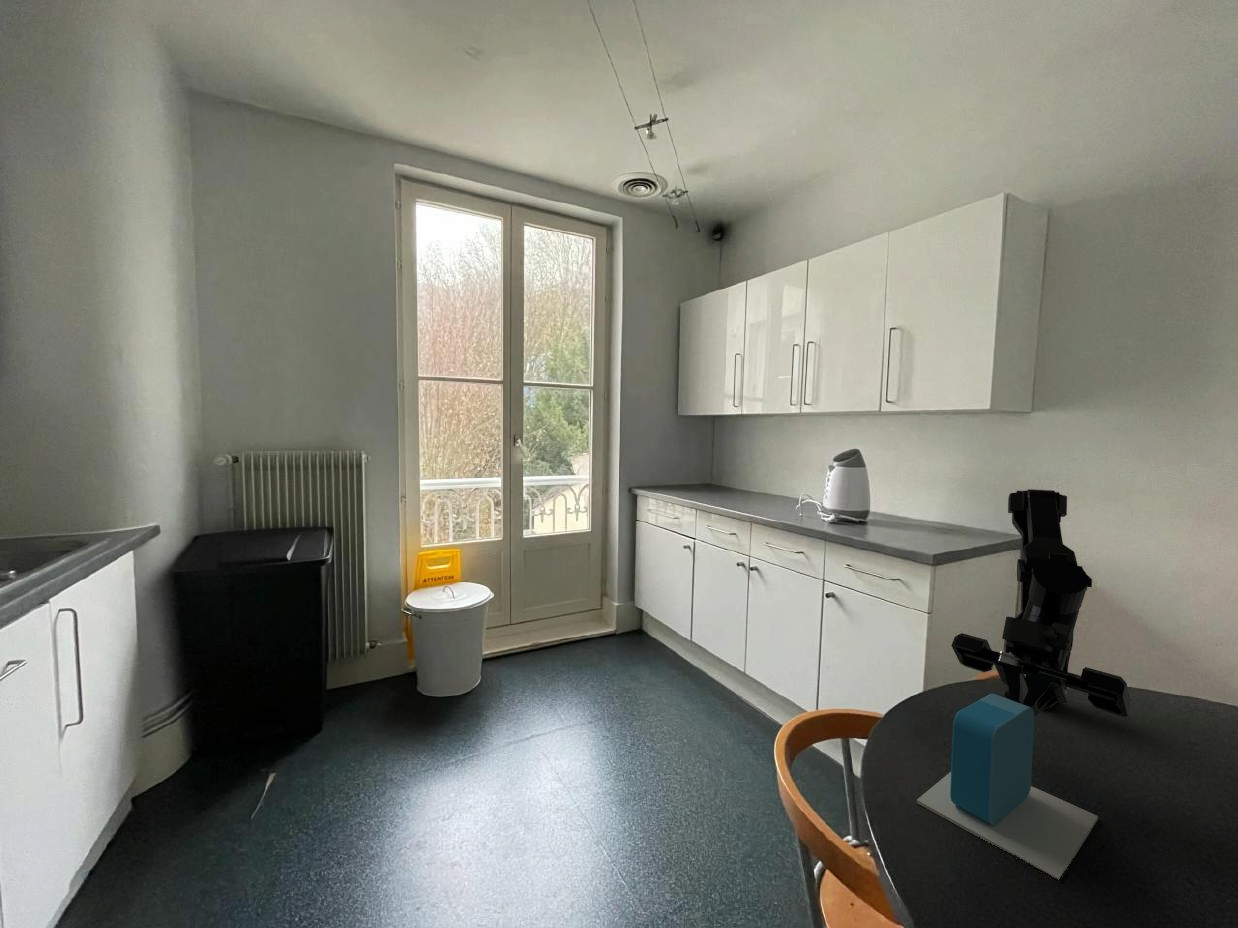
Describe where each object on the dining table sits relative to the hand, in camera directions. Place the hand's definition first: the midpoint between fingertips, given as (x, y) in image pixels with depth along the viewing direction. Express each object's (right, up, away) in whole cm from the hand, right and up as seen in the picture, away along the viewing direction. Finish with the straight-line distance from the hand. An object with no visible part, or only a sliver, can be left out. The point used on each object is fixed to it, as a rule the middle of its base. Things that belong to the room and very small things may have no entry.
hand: (1016, 725), depth 66 cm
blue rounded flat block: (-6, -8, -3) cm, 11 cm away
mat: (-5, -9, -4) cm, 11 cm away
